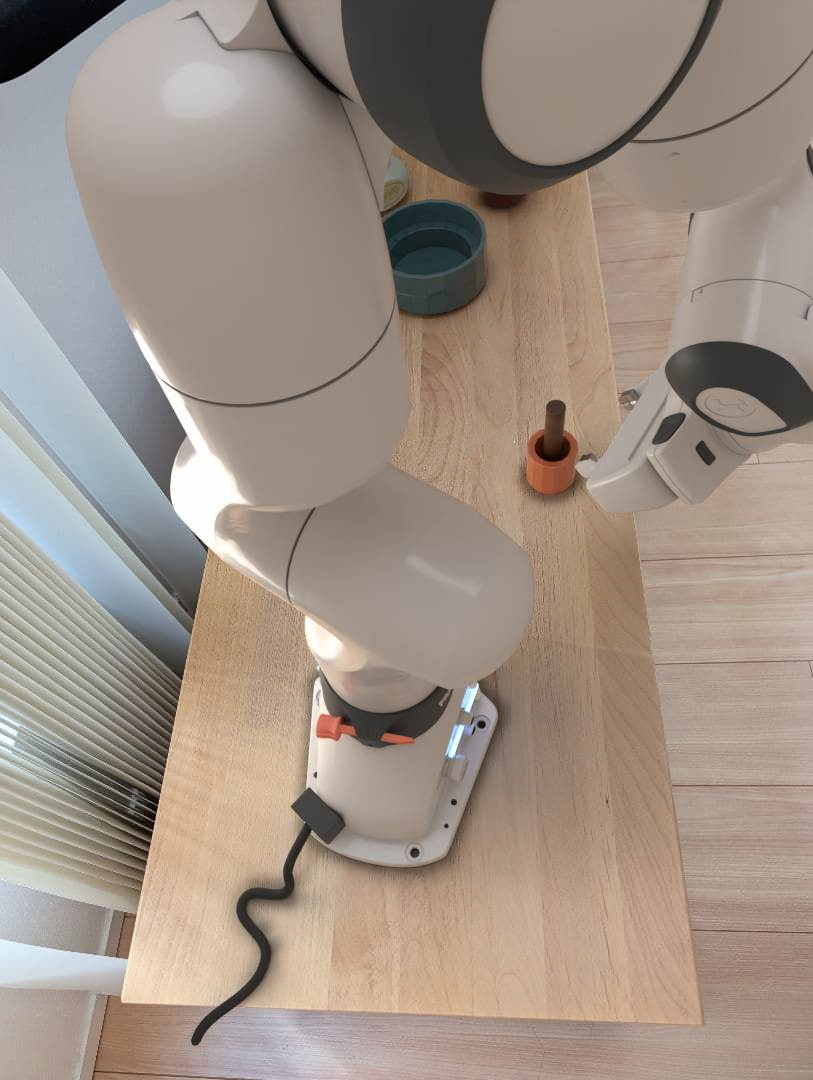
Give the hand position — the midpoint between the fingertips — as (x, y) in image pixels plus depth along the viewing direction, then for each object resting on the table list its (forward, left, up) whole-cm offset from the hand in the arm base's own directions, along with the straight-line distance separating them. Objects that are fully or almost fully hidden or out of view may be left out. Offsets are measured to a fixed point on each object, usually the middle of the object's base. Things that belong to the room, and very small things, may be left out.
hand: (603, 432), depth 78 cm
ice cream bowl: (+51, +18, -12) cm, 55 cm away
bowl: (+33, +25, -12) cm, 43 cm away
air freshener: (+49, +37, -12) cm, 62 cm away
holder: (+2, +5, -12) cm, 13 cm away
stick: (+2, +5, -11) cm, 12 cm away
